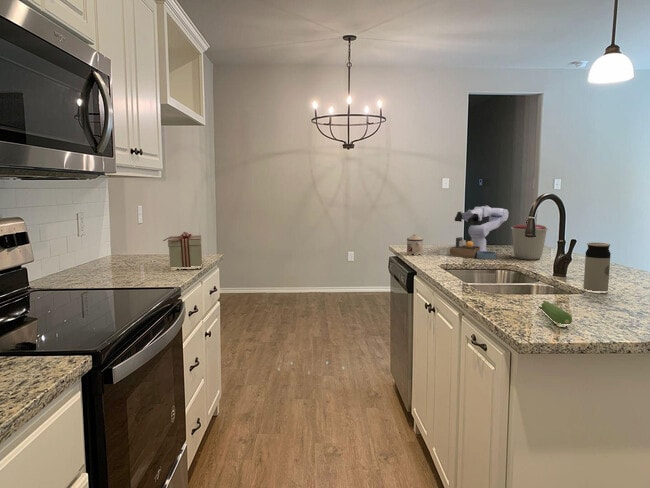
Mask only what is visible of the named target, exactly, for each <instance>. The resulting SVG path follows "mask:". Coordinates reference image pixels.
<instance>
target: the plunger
mask: <svg viewBox="0 0 650 488" xmlns="http://www.w3.org/2000/svg"><path fill="white" fill-rule="evenodd" d="M466 243H467V240H466V239H463V237H461V236H458V237H456V238H455V246H456V247H457V248H459V246H461V247H466Z"/></svg>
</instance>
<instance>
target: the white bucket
mask: <svg viewBox="0 0 650 488" xmlns="http://www.w3.org/2000/svg"><path fill="white" fill-rule="evenodd" d="M527 221H528V219H526V220H525V223H521V224H515V225H512V226H511V227H510V229H511V230H512V231H511V233H512V234H511V235H512V246H513V254H514V257H516V258H517V259H519V260H524V261H525V260H527V261H530V260H531V261H533V260H535V261H536V260H540V259H541V258H542V256H543V252H544V247H545V242H546V237H547V231H548V230H549V228H548V227H546V226H545V225H542V224H535V227H536V237H535V238H528V237H525V229H526V225H527Z"/></svg>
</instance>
